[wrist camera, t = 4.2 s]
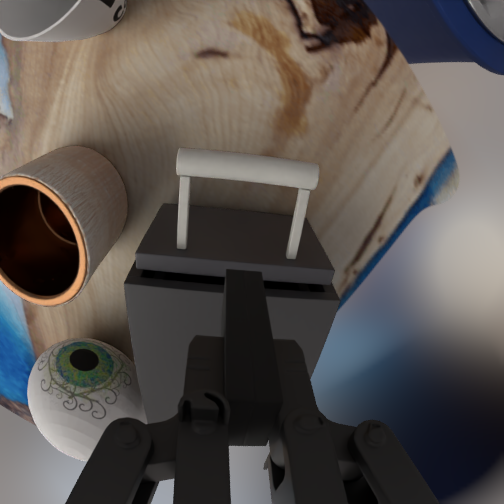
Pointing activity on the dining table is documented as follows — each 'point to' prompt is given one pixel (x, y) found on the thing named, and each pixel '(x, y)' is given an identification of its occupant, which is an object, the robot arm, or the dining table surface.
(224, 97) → the dining table surface
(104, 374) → the decorative object
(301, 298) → the cabinet
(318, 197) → the dining table surface
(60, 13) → the cup
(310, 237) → the drawer
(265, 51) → the dining table surface
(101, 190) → the planter
